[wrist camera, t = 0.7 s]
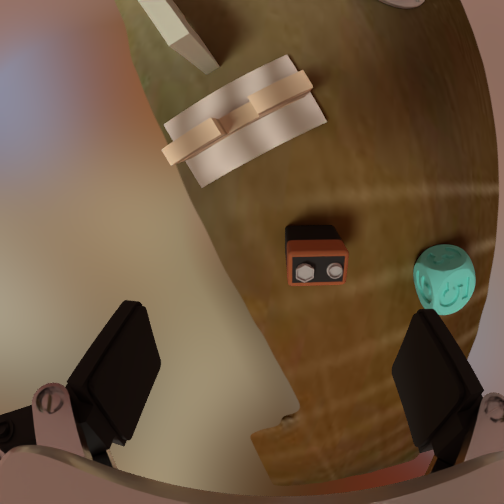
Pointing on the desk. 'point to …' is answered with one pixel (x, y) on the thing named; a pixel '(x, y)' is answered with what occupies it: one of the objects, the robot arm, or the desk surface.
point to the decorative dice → (444, 278)
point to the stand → (243, 120)
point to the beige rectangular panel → (179, 33)
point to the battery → (315, 256)
